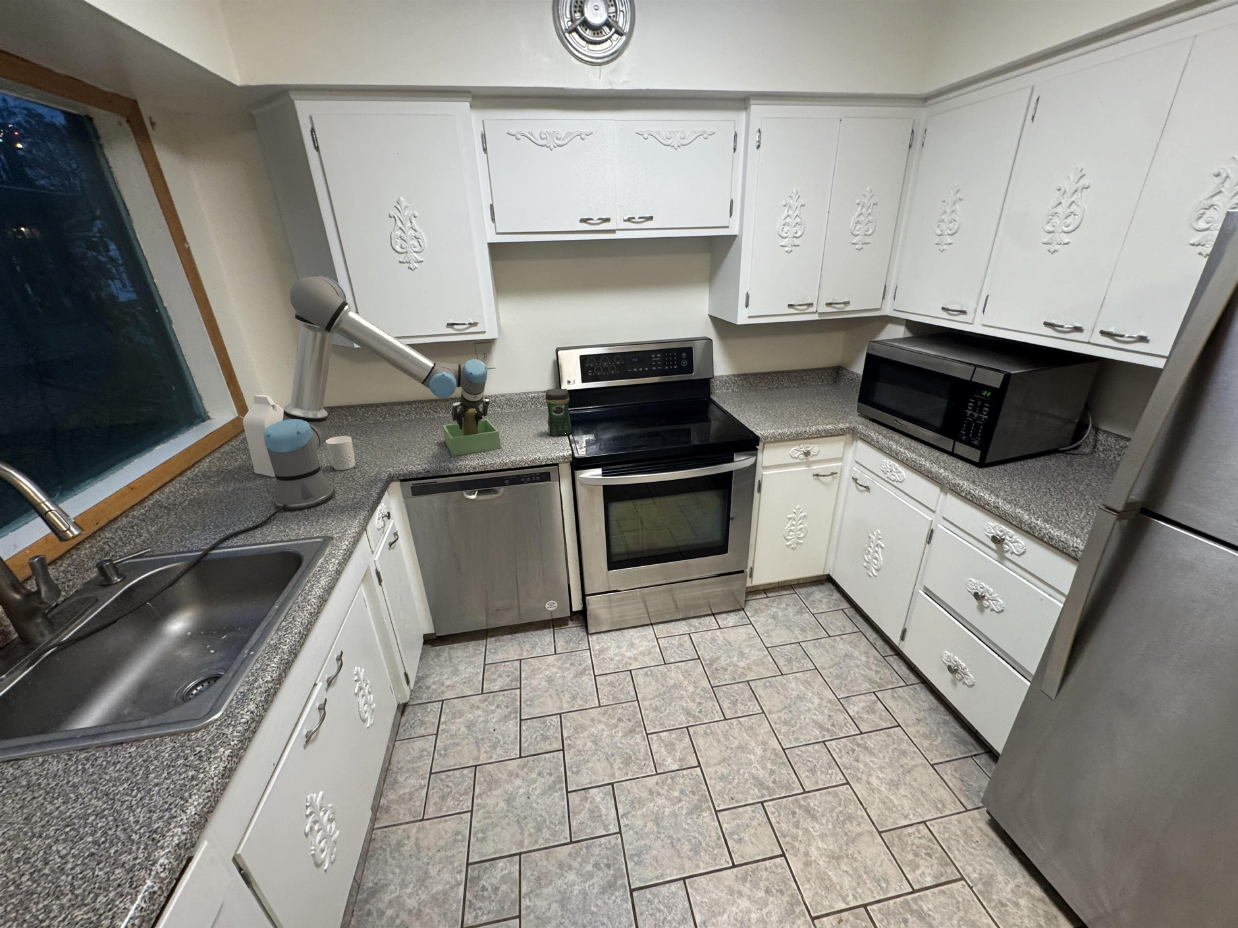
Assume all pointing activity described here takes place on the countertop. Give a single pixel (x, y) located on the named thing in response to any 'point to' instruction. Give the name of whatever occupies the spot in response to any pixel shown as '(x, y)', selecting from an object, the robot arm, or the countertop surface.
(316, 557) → the countertop surface
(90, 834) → the countertop surface
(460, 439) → the box
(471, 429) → the cork
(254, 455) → the milk
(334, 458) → the white cup
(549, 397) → the coffee jar
